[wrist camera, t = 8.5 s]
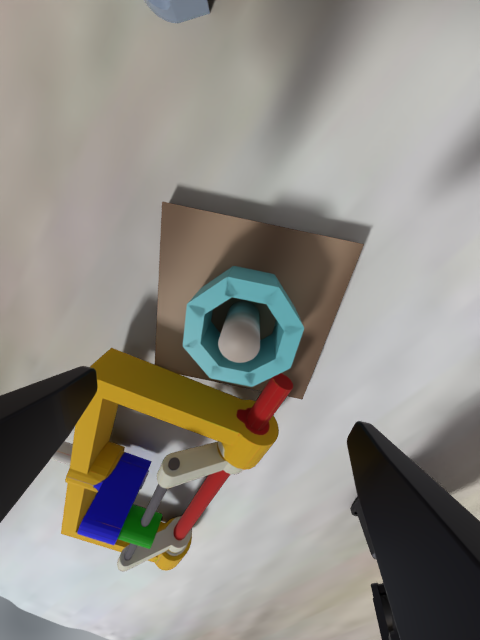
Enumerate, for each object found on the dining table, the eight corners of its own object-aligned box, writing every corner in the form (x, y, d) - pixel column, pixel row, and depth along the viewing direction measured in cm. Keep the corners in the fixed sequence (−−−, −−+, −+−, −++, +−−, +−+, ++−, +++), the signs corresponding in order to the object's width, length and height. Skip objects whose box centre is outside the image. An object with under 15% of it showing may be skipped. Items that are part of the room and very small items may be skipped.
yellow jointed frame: (324, 455, 11) (167, 612, 24) (303, 373, 17) (185, 536, 29) (-66, 305, 9) (-9, 562, 22) (58, 270, 15) (46, 491, 28)
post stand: (356, 242, 14) (405, 252, 9) (300, 390, 19) (313, 444, 14) (168, 203, 14) (124, 192, 9) (159, 362, 19) (127, 407, 14)
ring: (303, 280, 14) (315, 295, 11) (277, 363, 17) (282, 392, 14) (204, 259, 14) (190, 269, 11) (193, 346, 17) (180, 372, 14)
